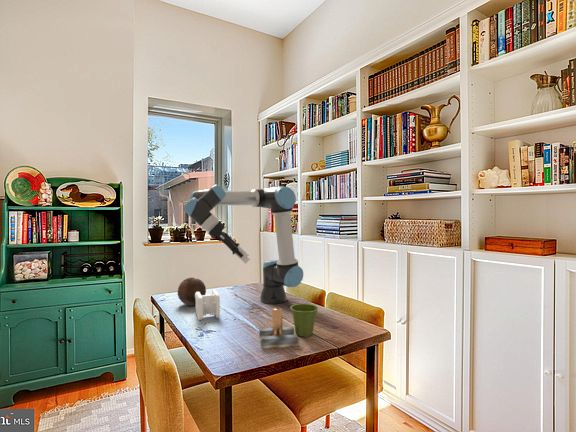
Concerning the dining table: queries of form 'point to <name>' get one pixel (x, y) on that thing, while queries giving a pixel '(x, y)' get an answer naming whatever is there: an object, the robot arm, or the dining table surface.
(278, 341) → the notch board
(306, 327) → the plant pot
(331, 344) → the dining table surface
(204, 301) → the cable organizer
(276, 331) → the copper pin
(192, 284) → the wooden sphere
